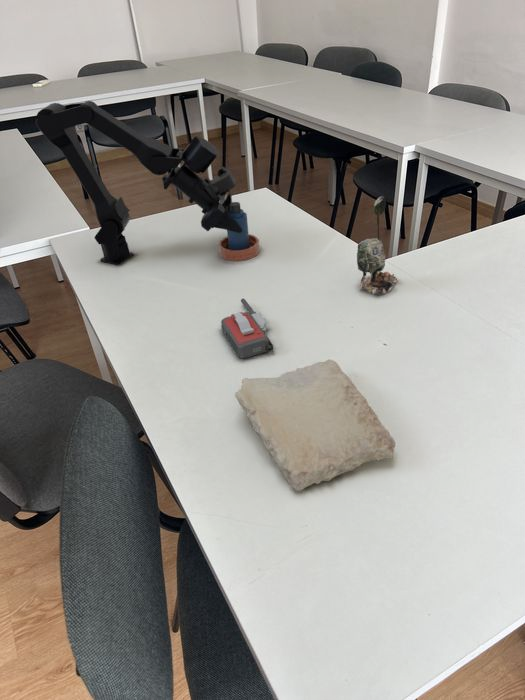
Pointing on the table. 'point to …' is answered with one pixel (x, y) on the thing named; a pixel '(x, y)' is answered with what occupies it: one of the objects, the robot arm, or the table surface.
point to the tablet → (314, 423)
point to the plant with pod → (374, 260)
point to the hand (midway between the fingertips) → (242, 226)
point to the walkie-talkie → (246, 332)
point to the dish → (239, 254)
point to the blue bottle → (240, 239)
